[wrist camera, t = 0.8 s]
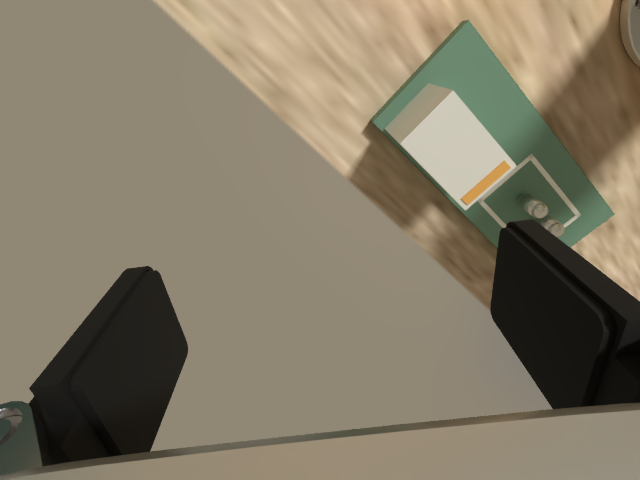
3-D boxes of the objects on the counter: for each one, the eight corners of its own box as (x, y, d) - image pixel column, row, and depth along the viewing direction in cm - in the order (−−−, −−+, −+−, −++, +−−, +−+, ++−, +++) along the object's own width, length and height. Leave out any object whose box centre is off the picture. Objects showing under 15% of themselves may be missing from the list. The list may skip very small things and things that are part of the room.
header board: (370, 119, 32) (372, 122, 31) (462, 21, 29) (469, 20, 28) (521, 272, 40) (527, 279, 39) (605, 209, 37) (615, 214, 36)
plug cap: (384, 128, 31) (400, 144, 26) (428, 83, 30) (453, 90, 25) (441, 187, 34) (466, 211, 29) (484, 148, 32) (517, 166, 27)
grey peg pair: (511, 199, 35) (532, 214, 32) (524, 188, 34) (546, 203, 31) (535, 226, 36) (557, 242, 33) (547, 216, 36) (571, 232, 33)
